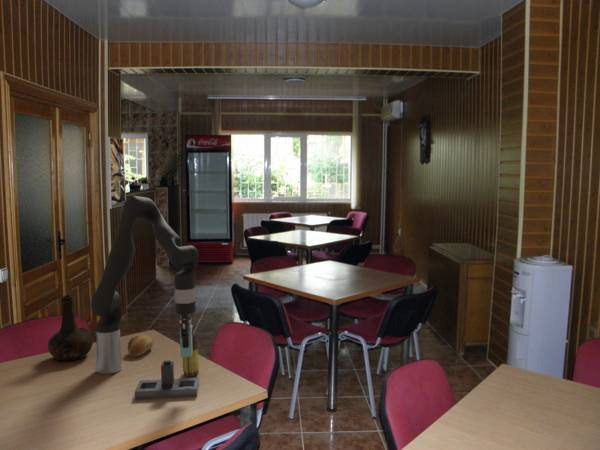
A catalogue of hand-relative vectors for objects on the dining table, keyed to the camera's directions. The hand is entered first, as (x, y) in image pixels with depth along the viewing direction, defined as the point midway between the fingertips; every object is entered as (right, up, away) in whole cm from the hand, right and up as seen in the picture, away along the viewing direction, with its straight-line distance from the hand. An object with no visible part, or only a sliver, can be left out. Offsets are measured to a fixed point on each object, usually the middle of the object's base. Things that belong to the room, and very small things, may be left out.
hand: (186, 345), depth 187 cm
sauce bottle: (-2, -16, +18) cm, 24 cm away
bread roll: (-31, -14, +43) cm, 55 cm away
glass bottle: (-59, -14, +37) cm, 71 cm away
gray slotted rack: (-7, -18, +1) cm, 19 cm away
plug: (0, -4, 0) cm, 4 cm away
